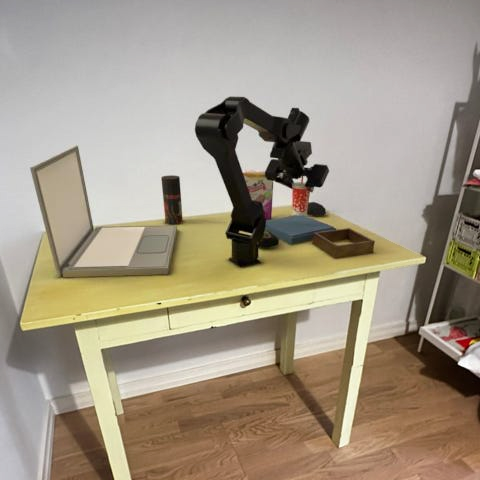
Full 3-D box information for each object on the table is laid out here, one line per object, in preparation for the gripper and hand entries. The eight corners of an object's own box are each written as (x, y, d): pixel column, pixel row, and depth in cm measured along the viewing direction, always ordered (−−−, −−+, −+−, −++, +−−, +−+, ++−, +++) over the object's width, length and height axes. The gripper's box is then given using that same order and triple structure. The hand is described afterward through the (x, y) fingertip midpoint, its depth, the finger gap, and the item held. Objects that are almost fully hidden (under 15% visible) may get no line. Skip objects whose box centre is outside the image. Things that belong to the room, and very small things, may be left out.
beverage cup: (298, 217, 123) (302, 169, 116) (285, 212, 127) (288, 166, 120) (313, 214, 126) (317, 167, 119) (300, 209, 131) (303, 164, 124)
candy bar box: (240, 221, 140) (240, 172, 132) (239, 217, 144) (239, 169, 136) (272, 221, 140) (274, 172, 132) (270, 217, 145) (272, 169, 136)
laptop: (168, 274, 101) (157, 165, 88) (56, 277, 100) (28, 167, 86) (177, 230, 131) (170, 144, 118) (91, 232, 130) (74, 145, 116)
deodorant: (181, 224, 137) (178, 179, 129) (164, 224, 137) (159, 179, 129) (183, 219, 142) (180, 175, 134) (167, 219, 142) (163, 175, 134)
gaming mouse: (308, 206, 157) (309, 196, 155) (329, 216, 146) (330, 205, 144) (294, 208, 155) (294, 197, 153) (314, 218, 144) (315, 207, 141)
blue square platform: (291, 244, 120) (291, 236, 119) (257, 228, 133) (258, 221, 132) (335, 234, 128) (336, 226, 127) (300, 220, 142) (300, 213, 140)
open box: (334, 258, 111) (336, 246, 109) (312, 243, 121) (313, 232, 119) (372, 252, 115) (375, 241, 113) (348, 238, 125) (349, 227, 123)
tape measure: (279, 249, 117) (280, 236, 115) (257, 251, 115) (257, 239, 113) (270, 241, 123) (271, 229, 121) (249, 243, 121) (249, 231, 119)
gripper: (330, 133, 107) (341, 171, 121) (271, 129, 117) (287, 164, 130) (314, 168, 106) (327, 202, 119) (255, 161, 115) (273, 194, 128)
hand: (303, 189), depth 124 cm, fingers closed on beverage cup, 6 cm apart
